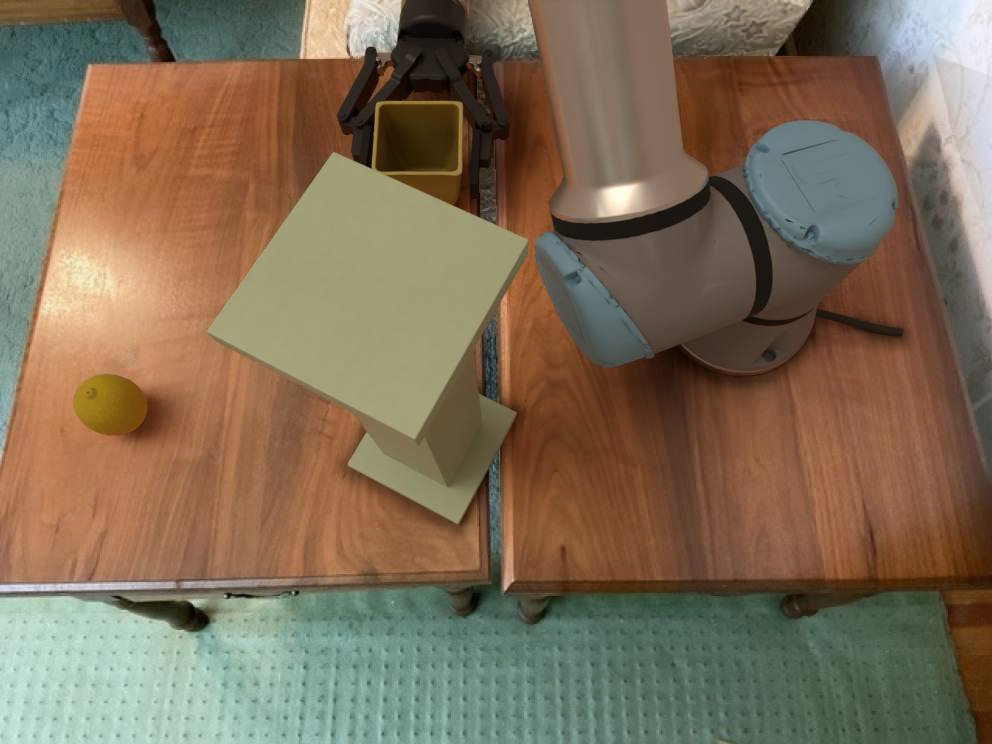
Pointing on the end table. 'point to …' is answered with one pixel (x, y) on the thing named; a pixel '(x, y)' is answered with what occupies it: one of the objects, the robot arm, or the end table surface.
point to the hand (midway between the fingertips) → (418, 190)
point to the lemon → (110, 404)
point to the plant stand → (385, 325)
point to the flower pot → (420, 145)
